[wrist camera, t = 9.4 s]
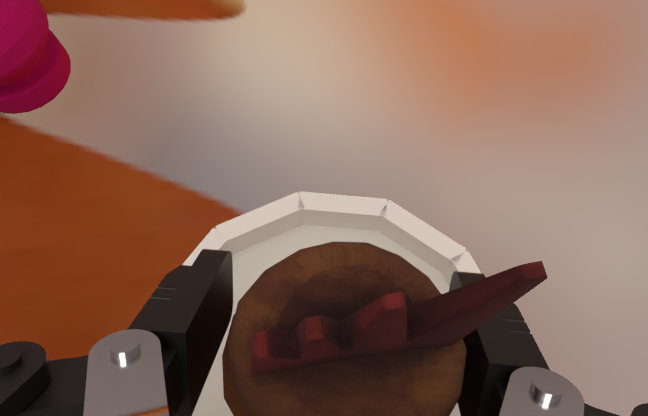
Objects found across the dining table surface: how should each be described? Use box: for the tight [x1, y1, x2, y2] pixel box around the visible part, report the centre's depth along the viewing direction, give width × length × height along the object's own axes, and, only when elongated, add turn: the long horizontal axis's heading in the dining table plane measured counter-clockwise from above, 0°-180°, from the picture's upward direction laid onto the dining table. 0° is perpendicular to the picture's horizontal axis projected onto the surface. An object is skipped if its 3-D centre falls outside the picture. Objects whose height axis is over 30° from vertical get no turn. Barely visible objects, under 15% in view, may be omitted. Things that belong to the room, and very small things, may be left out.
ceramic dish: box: [182, 192, 481, 416], centre depth 24 cm, size 18×18×3 cm
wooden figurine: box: [222, 241, 547, 416], centre depth 12 cm, size 7×6×15 cm
